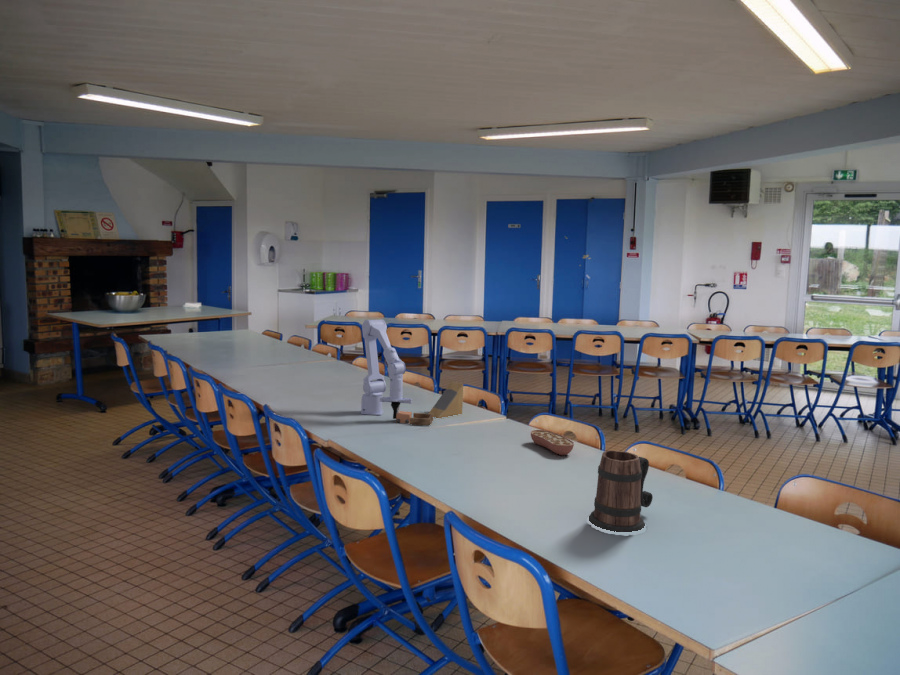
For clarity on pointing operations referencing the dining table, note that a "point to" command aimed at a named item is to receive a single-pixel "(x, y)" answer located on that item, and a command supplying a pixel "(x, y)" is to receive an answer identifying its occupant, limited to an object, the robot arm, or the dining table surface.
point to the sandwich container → (449, 401)
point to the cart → (403, 416)
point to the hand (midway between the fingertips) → (395, 418)
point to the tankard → (620, 492)
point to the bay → (421, 419)
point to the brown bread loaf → (552, 441)
